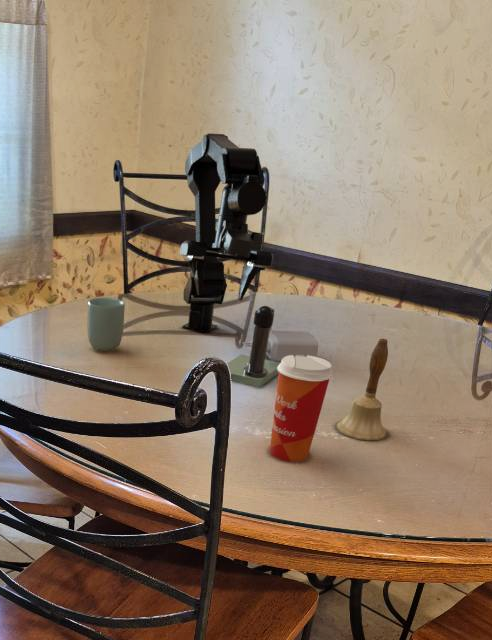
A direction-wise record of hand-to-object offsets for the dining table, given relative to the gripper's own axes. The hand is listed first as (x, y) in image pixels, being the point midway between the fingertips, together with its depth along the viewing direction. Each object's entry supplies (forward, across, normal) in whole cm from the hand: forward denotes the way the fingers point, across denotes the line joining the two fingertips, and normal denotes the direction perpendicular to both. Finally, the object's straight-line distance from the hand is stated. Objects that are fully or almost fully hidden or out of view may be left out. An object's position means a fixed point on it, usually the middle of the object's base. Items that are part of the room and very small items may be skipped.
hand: (219, 297), depth 150 cm
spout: (+5, +5, -14) cm, 16 cm away
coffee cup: (+21, -1, -48) cm, 53 cm away
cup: (+14, -22, +6) cm, 27 cm away
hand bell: (+18, +15, -41) cm, 47 cm away
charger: (+11, +15, -1) cm, 18 cm away
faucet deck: (+14, +5, -11) cm, 18 cm away
